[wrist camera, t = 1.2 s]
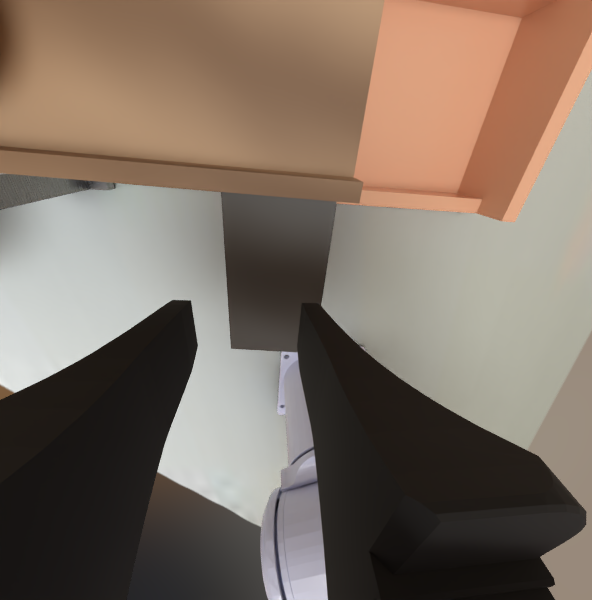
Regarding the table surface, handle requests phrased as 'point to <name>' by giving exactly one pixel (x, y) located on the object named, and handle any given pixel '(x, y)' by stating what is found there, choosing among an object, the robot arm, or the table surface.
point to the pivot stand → (41, 188)
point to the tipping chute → (203, 122)
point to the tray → (469, 101)
